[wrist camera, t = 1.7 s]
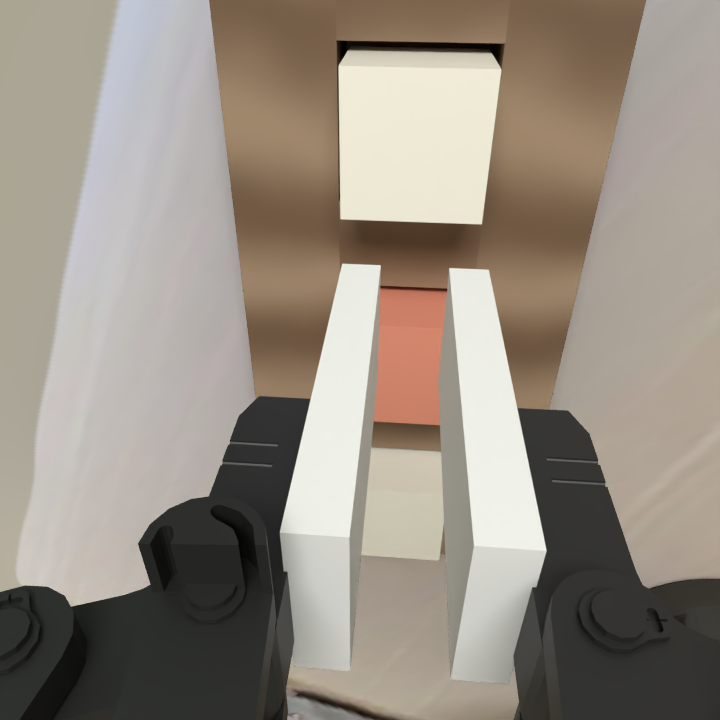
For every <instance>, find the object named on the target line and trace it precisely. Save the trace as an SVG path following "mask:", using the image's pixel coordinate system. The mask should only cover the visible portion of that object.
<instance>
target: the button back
mask: <svg viewBox="0 0 720 720" xmlns="http://www.w3.org/2000/svg"><path fill="white" fill-rule="evenodd" d="M443 526H444V510H443V486H442V462H441V451H438V450H421V449H405V448H388V447H371V455H370V465H369V476H368V487H367V497H366V508H365V519H364V529H363V540H362V551H361V555H367V556H381V557H395V558H409V559H423V560H438V561H439V557H440V550H441V542H442V534H443Z"/></svg>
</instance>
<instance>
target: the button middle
mask: <svg viewBox="0 0 720 720" xmlns="http://www.w3.org/2000/svg"><path fill="white" fill-rule="evenodd" d="M446 296H447V288H424V287H401V286H380V314H379V349H378V380H377V390H376V401H375V412H374V421H375V422H392V423H410V424H428V425H440V414H439V390H438V377H439V366H440V356H441V346H442V336H443V326H444V316H445V306H446Z"/></svg>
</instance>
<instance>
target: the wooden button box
mask: <svg viewBox="0 0 720 720" xmlns="http://www.w3.org/2000/svg"><path fill="white" fill-rule="evenodd" d="M209 2H210V11H211V19H212V28H213V36H214V45H215V53H216V62H217V70H218V79H219V87H220V96H221V105H222V113H223V122H224V130H225V139H226V147H227V156H228V164H229V173H230V181H231V190H232V199H233V207H234V216H235V224H236V233H237V241H238V250H239V258H240V267H241V275H242V284H243V293H244V301H245V310H246V318H247V327H248V335H249V344H250V352H251V361H252V369H253V378H254V387H255V395H256V399H257V398H258V397H259V396H269V397H287V398H306V399H311V396H312V391H313V387H314V383H315V379H316V374H317V370H318V366H319V361H320V357H321V353H322V348H323V344H324V340H325V336H326V331H327V327H328V323H329V318H330V314H331V310H332V305H333V301H334V297H335V293H336V288H337V284H338V280H339V275H340V271H341V267H342V264H362V265H381V278H380V286H401V287H424V288H447V286H448V276H449V268H460V269H484V270H489V273H490V278H491V283H492V288H493V293H494V298H495V303H496V307H497V312H498V317H499V322H500V327H501V332H502V337H503V341H504V346H505V351H506V356H507V361H508V366H509V371H510V375H511V380H512V385H513V390H514V395H515V400H516V405H517V408H526V409H544V410H549V407H550V403H551V399H552V395H553V390H554V386H555V382H556V378H557V374H558V369H559V365H560V361H561V357H562V352H563V348H564V344H565V340H566V336H567V331H568V327H569V323H570V319H571V314H572V310H573V306H574V302H575V298H576V293H577V289H578V285H579V281H580V277H581V272H582V268H583V264H584V260H585V255H586V251H587V247H588V243H589V239H590V234H591V230H592V226H593V222H594V217H595V213H596V209H597V205H598V201H599V196H600V192H601V188H602V184H603V180H604V175H605V171H606V167H607V163H608V158H609V154H610V150H611V146H612V142H613V137H614V133H615V129H616V125H617V120H618V116H619V112H620V108H621V104H622V99H623V95H624V91H625V87H626V83H627V78H628V74H629V70H630V66H631V61H632V57H633V53H634V49H635V45H636V40H637V36H638V32H639V28H640V23H641V19H642V15H643V11H644V7H645V2H646V0H209ZM350 46H362V47H415V48H468V49H490V51H491V53H492V54H493V56H494V58H495V59H496V61H497V63H498V64H499V66H500V68H501V77H500V85H499V93H498V101H497V109H496V117H495V125H494V132H493V140H492V148H491V156H490V164H489V172H488V180H487V188H486V195H485V203H484V211H483V219H482V224H456V223H428V222H401V221H373V220H346V219H340V142H339V64H340V63H341V61H342V59H343V58H344V56H345V54H346V53H347V51H348V49H349V48H350ZM371 447H388V448H405V449H421V450H438V451H441V438H440V425H428V424H410V423H392V422H375V421H374V423H373V433H372V444H371ZM440 554H445V534H444V526H443V534H442V542H441V550H440Z"/></svg>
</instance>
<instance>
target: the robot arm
mask: <svg viewBox="0 0 720 720" xmlns="http://www.w3.org/2000/svg"><path fill="white" fill-rule="evenodd" d="M380 278H381V265H362V264H342V267H341V271H340V275H339V280H338V284H337V288H336V293H335V297H334V301H333V305H332V310H331V314H330V318H329V323H328V327H327V331H326V336H325V340H324V344H323V348H322V353H321V357H320V361H319V366H318V370H317V374H316V379H315V383H314V387H313V391H312V396H311V399H306V398H287V397H269V396H259V397H258V398H257V399H256V400H255V401H254V402H253V403H252V404H251V405H250V406H249V407H248V408H247V409H246V410H245V411H244V412H243V413H242V414H241V415H240V416H239V417H238V420H237V423H236V425H235V428H234V431H233V433H232V436H231V439H230V445H228V447H227V450H226V452H225V455H224V458H223V463H222V465H221V466H220V468H219V471H218V474H217V476H216V479H215V482H214V484H213V487H212V490H211V492H210V495H209V497H203V498H195V499H191V500H188V501H186V502H184V503H181V504H179V505H177V506H174V507H172V508H170V509H168V510H167V511H166V512H164V513H163V514H162V515H161V516H160V517H158V518H157V519H156V520H155V521H153V522H152V523H151V524H150V525H149V527H148V529H147V530H146V532H145V533H144V535H143V537H142V538H141V540H140V541H139V543H138V545H139V548H140V552H141V555H142V558H143V561H144V564H145V568H146V571H147V574H148V577H149V580H150V584H151V585H149V586H147V587H146V588H144V589H141V590H138V591H135V592H132V593H129V594H126V595H122V596H118V597H113V598H109V599H104V600H100V601H95V602H91V603H86V604H82V605H77V606H73V607H71V606H70V605H69V603H68V601H67V599H66V597H65V596H64V595H62V594H60V593H58V592H56V591H55V590H53V589H51V588H49V587H42V586H22V587H18V588H14V589H10V590H6V591H3V592H0V720H287V715H288V707H287V696H286V685H287V679H288V674H289V668H290V662H291V657H292V654H293V664H294V667H304V668H316V669H329V670H341V671H350V668H351V658H352V647H353V636H354V626H355V615H356V604H357V594H358V583H359V572H360V562H361V551H362V540H363V529H364V519H365V508H366V497H367V487H368V476H369V465H370V455H371V444H372V433H373V423H374V412H375V401H376V390H377V380H378V349H379V314H380ZM438 390H439V414H440V438H441V462H442V486H443V510H444V534H445V557H446V581H447V605H448V629H449V653H450V677H451V680H463V681H475V682H487V683H499V684H509V682H510V679H511V675H512V671H513V668H514V666H515V673H516V681H517V689H518V696H519V704H518V707H517V711H516V714H515V717H514V720H720V579H701V580H689V581H682V582H676V583H671V584H667V585H663V586H659V587H656V588H653V589H648V588H646V587H645V586H643V585H642V583H641V581H640V579H639V577H638V575H637V573H636V570H635V567H634V564H633V561H632V558H631V555H630V552H629V549H628V547H627V544H626V541H625V538H624V535H623V532H622V529H621V526H620V523H619V520H618V517H617V514H616V511H615V508H614V505H613V502H612V499H611V496H610V493H609V490H608V488H607V487H605V479H604V476H603V473H602V470H601V467H600V465H598V458H597V455H596V452H595V449H594V446H593V443H592V440H591V437H590V434H589V433H588V432H587V431H586V430H585V429H584V427H583V426H582V425H581V424H580V423H579V422H578V421H577V420H576V419H575V418H574V417H573V415H572V414H571V413H570V412H569V411H563V410H544V409H526V408H517V405H516V400H515V395H514V390H513V385H512V380H511V375H510V371H509V366H508V361H507V356H506V351H505V346H504V341H503V337H502V332H501V327H500V322H499V317H498V312H497V307H496V303H495V298H494V293H493V288H492V283H491V278H490V273H489V270H484V269H460V268H449V276H448V286H447V296H446V306H445V316H444V326H443V336H442V346H441V356H440V366H439V377H438Z"/></svg>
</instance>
